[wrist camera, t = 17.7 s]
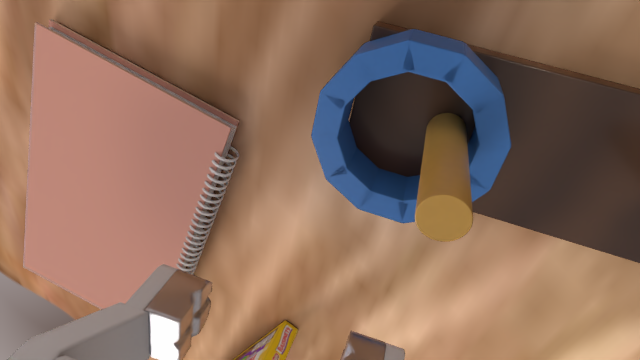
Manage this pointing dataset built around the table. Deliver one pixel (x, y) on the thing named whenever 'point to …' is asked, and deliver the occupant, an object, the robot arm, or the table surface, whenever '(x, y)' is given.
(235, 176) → the table surface
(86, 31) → the table surface
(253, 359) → the candy box
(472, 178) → the tape roll
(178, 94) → the notebook
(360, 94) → the peg rack
